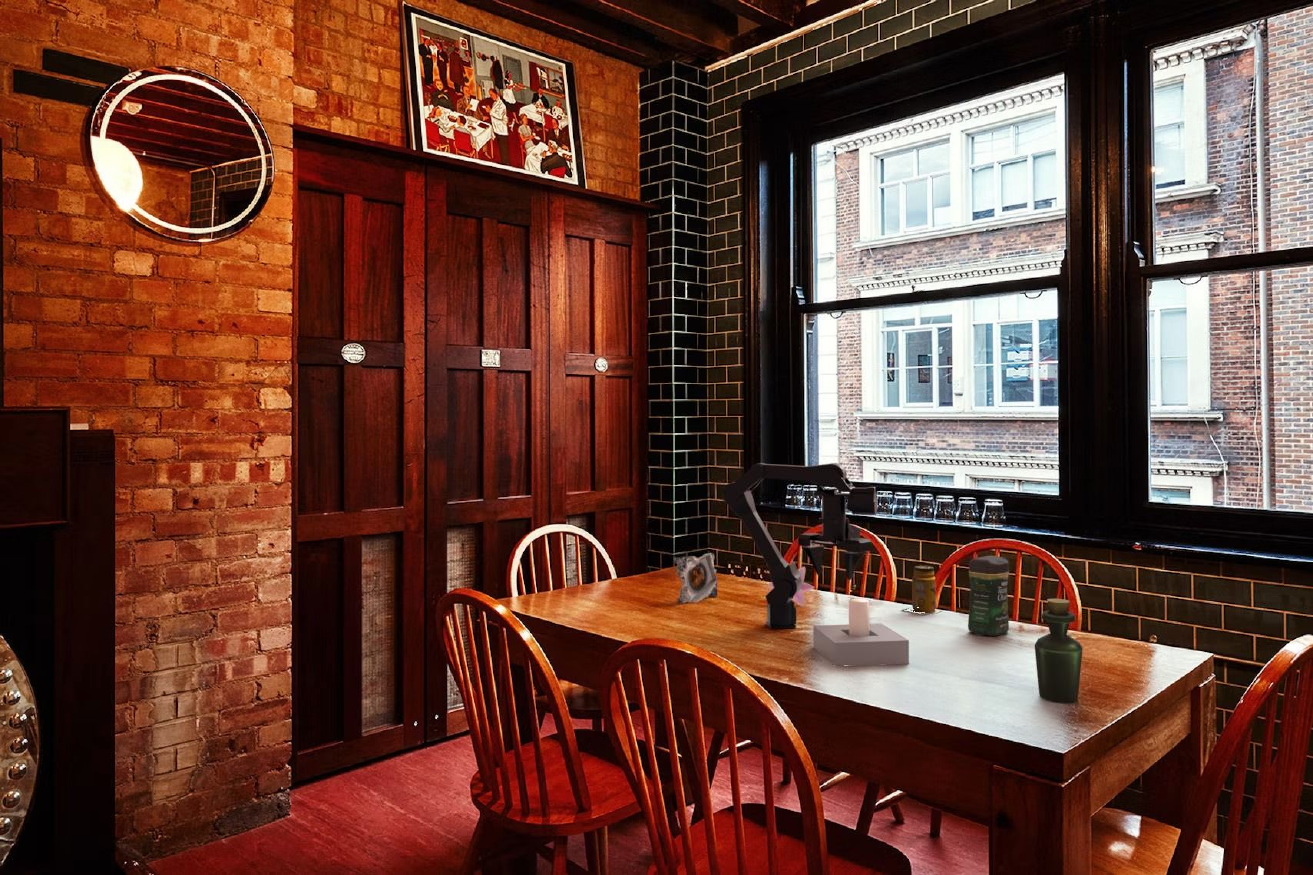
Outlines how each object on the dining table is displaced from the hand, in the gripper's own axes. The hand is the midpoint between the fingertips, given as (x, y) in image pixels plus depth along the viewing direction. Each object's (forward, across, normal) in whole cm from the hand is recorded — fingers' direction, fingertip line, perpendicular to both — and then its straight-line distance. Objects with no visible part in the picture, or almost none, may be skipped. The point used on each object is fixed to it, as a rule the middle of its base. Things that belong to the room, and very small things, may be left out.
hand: (834, 577), depth 217 cm
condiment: (+13, -2, -35) cm, 37 cm away
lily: (+13, +29, -18) cm, 36 cm away
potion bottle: (+13, -61, +14) cm, 64 cm away
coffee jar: (+13, -27, -25) cm, 39 cm away
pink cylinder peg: (+13, -18, +15) cm, 27 cm away
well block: (+13, -18, +15) cm, 27 cm away
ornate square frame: (+13, +50, -1) cm, 52 cm away
